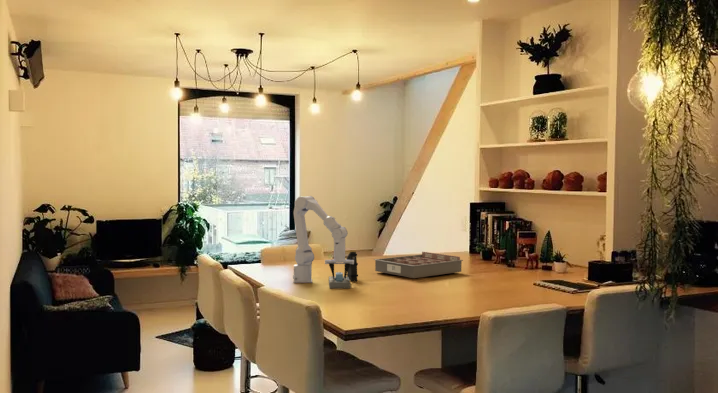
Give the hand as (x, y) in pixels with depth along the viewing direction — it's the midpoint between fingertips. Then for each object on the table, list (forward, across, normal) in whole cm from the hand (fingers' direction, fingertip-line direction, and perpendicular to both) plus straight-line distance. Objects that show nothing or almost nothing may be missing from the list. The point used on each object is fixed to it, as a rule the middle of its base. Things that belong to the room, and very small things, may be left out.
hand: (339, 278), depth 304 cm
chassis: (+3, 0, 0) cm, 3 cm away
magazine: (+4, +7, +18) cm, 19 cm away
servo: (+3, 0, 0) cm, 3 cm away
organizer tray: (+4, +46, +38) cm, 60 cm away
